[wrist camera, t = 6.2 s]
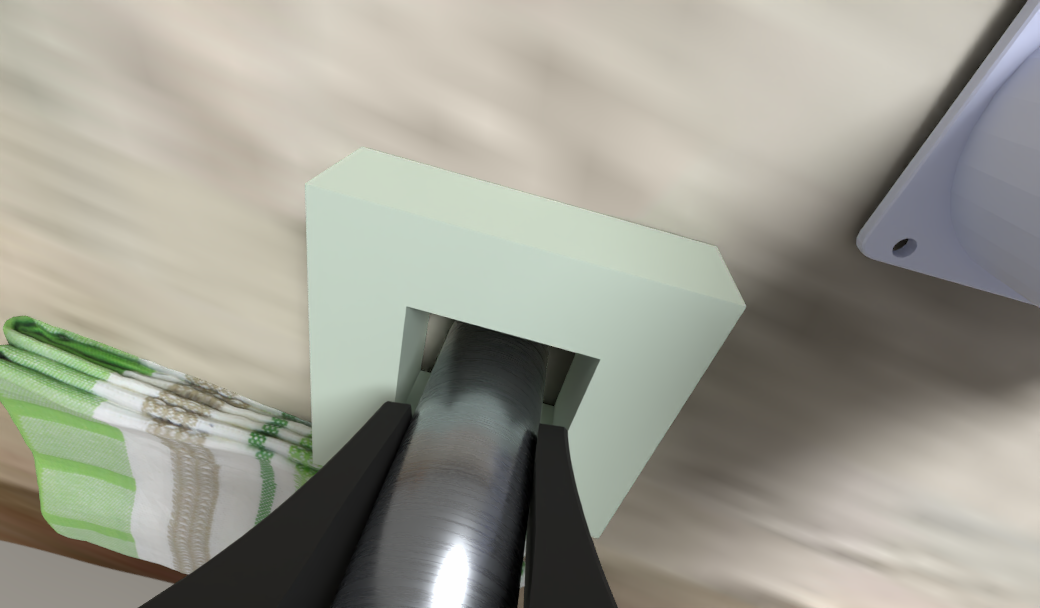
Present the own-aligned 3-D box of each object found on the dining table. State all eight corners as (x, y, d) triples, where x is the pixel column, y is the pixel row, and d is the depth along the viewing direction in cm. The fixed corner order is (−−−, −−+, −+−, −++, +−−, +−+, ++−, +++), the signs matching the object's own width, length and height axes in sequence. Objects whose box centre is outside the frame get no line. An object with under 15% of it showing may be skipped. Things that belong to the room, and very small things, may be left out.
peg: (544, 303, 14) (486, 680, 6) (552, 385, 15) (513, 758, 8) (439, 305, 14) (265, 654, 7) (457, 384, 16) (337, 732, 8)
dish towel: (450, 631, 30) (435, 700, 27) (87, 515, 28) (28, 576, 25) (558, 490, 21) (553, 572, 18) (22, 296, 18) (-86, 353, 15)
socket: (716, 246, 13) (746, 306, 10) (597, 465, 18) (598, 538, 16) (362, 146, 13) (305, 183, 10) (351, 399, 18) (313, 463, 16)
